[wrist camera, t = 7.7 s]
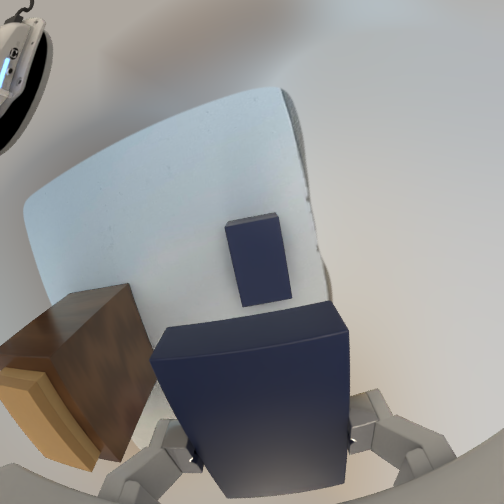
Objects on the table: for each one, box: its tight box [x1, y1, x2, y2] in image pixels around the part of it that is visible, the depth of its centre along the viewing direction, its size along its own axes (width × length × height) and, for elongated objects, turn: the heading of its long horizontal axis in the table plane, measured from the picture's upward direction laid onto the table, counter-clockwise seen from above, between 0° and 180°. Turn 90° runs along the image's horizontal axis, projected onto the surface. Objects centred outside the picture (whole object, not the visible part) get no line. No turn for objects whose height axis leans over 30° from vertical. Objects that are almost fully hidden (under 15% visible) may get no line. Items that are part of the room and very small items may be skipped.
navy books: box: [225, 212, 292, 307], centre depth 31 cm, size 9×6×4 cm, turn 11°
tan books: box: [0, 367, 101, 472], centre depth 17 cm, size 11×8×3 cm
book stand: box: [0, 283, 157, 462], centre depth 28 cm, size 14×11×18 cm
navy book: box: [149, 301, 350, 498], centre depth 9 cm, size 9×6×2 cm, turn 11°
